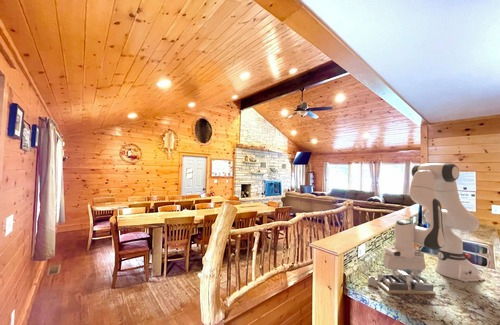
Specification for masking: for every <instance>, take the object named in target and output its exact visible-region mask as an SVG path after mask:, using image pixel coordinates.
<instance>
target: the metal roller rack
mask: <svg viewBox="0 0 500 325" xmlns="http://www.w3.org/2000/svg"><path fill="white" fill-rule="evenodd" d="M382 274H383V275H384V276H383V278H382V279H381V281H380V282H379V281H378V285H379V286H380V287H381V288H382V289H383V290H384V291H385V292H386V293H388V294H413V295H415V294H416V295H418V294H419V295H420V294H422V295H436V293H437V292H436V290H435V289H434V284H432V283H426V282H424V281H423V280H421V279H420V276H419V274H418V275H416V278H413V277H412V289H408V284H407V283H405V282H404V281H402V280H401V279H400V278H398V277H394V276H393V273H382ZM380 275H381V273H377V279H378V278H379V276H380ZM410 276H411V275H410Z"/></svg>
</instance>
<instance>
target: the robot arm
mask: <svg viewBox="0 0 500 325" xmlns="http://www.w3.org/2000/svg"><path fill="white" fill-rule="evenodd" d="M411 176H412V180H411V183H410V187H409V197H410V199H411V200H412V201H413V202H414V203H416V204H418V205H419V206H421V207H423V208H425V209H426V210H425V212H424V219H425V220H426V222H427V223H429V228H428V227H427V228H426V227H424V226H423V227H422V226H419V225H416V224H414V223H413V221H411V220H408V219H398V220H396V222H395V224H394V232H393V236H394V245H391V246H388V247H385V248H384V252H385V253H384V255H383V266H384V267H385V268H387V269H388V270H390V271H391V272H392V274H393V276H394V277H398V274H397V270H399V269H407V270H413V272H412V273H411V277H413V278H416V274H417V273H418V270H423V271H424V270H426V261H425V254H424V253H423V251H420V250H419V251H417V250H415V245H418V246H422V247H425V248H427V249H429V250H432V251H436V252H437V259H436V260H437V261H436V265H435V268H434V271H435V272H436V273H438V274H439V275H442V276H444V277H447V278H450V279H455V280H458V281H461V282H464V283H465V282H466V283H470V282H478V281H479V280H480V281H485V277H484V276H482V275H481V274H480V273H479V270H478V267H477V266H476V265H474V264H473V263H472V262H471V261H469V260H468V259H467V258H469V259H470V257H471V254H469V253H464V249H463V248H464V245H463V244H464V243H463V240H462V238H461V237H460V236H459V235H457V234H456V233H455V232H454V231H453V230H452V229H454V230H458V231H463V232H475V231H477V230H478V228H479V227H480V220H479V218H478V217H477V216H476V215H475V214H473V213H472V212H470V211H469V210H468V209H467V208H466V207H465V206H464V205H463V203H462V202H461V199H460V194H459V190H458V185H457V179H459V176H460V169H459V167H458V166H457V165H456V164H454V163H450V162H446V163H444V162H441V163H440V162H433V163H419V164H415V165H413V167H412V169H411ZM442 207H443V208H442ZM469 281H470V282H469Z"/></svg>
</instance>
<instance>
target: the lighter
mask: <svg viewBox="0 0 500 325" xmlns="http://www.w3.org/2000/svg"><path fill="white" fill-rule="evenodd" d="M380 274H381V275H380V276H379V278H378V277H377V278H376V276H375V275H370V276H368V286H370V285H371V286H370V287H372V286H373V287H372V288H375V287H376V288H375V289H378V287H379V286H378V285H379V284H378V281H379V282H380V281H381V279H382V278H383V276H384V275H383V274H384V273H382V272H381V273H380Z"/></svg>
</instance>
